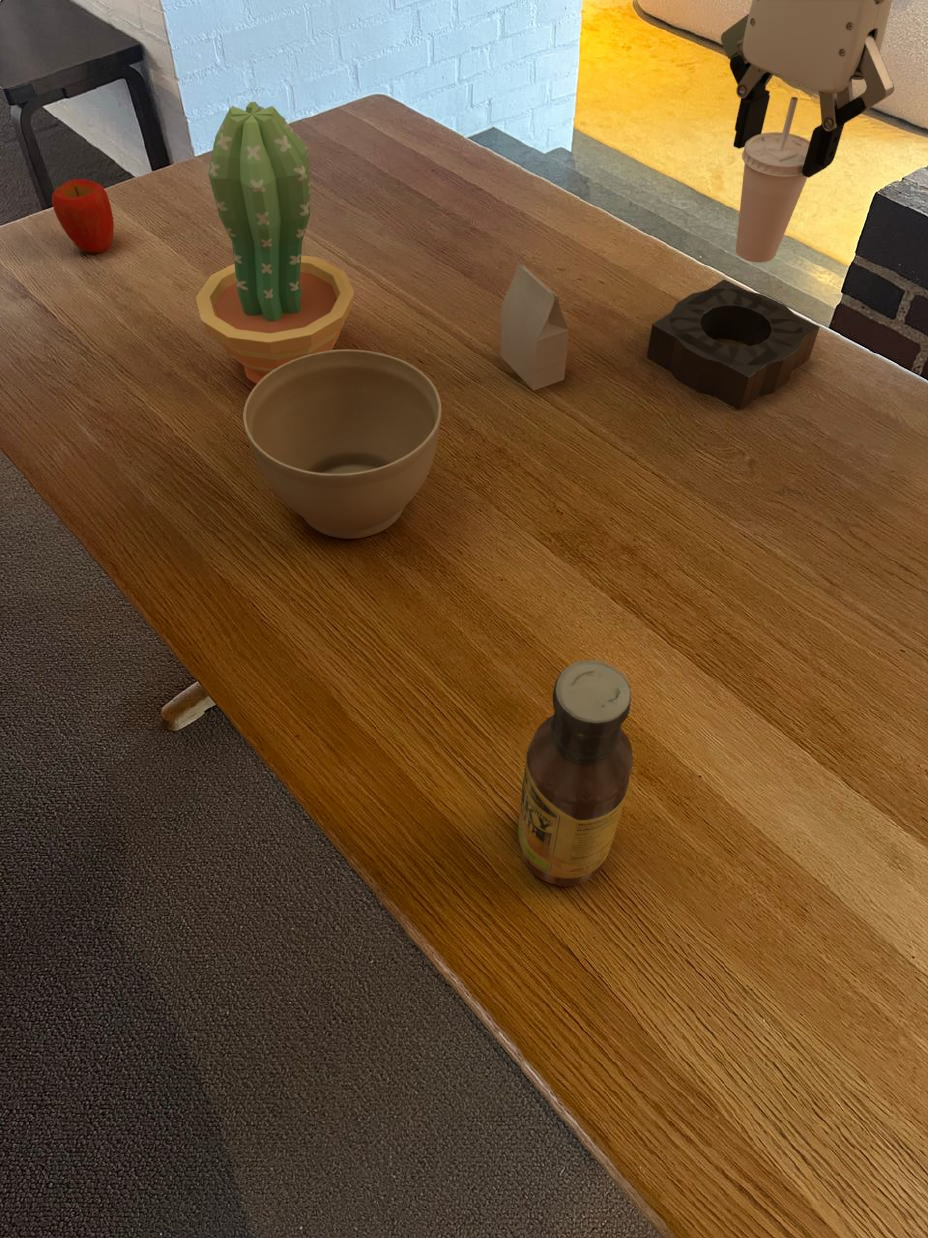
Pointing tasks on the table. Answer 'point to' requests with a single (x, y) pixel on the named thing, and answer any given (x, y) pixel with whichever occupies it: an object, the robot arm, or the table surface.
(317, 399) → the planter bowl
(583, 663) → the sauce bottle
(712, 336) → the holder plate
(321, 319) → the potted cactus
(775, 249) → the smoothie
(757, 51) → the robot arm
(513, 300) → the gable top carton
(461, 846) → the table surface
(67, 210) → the apple
